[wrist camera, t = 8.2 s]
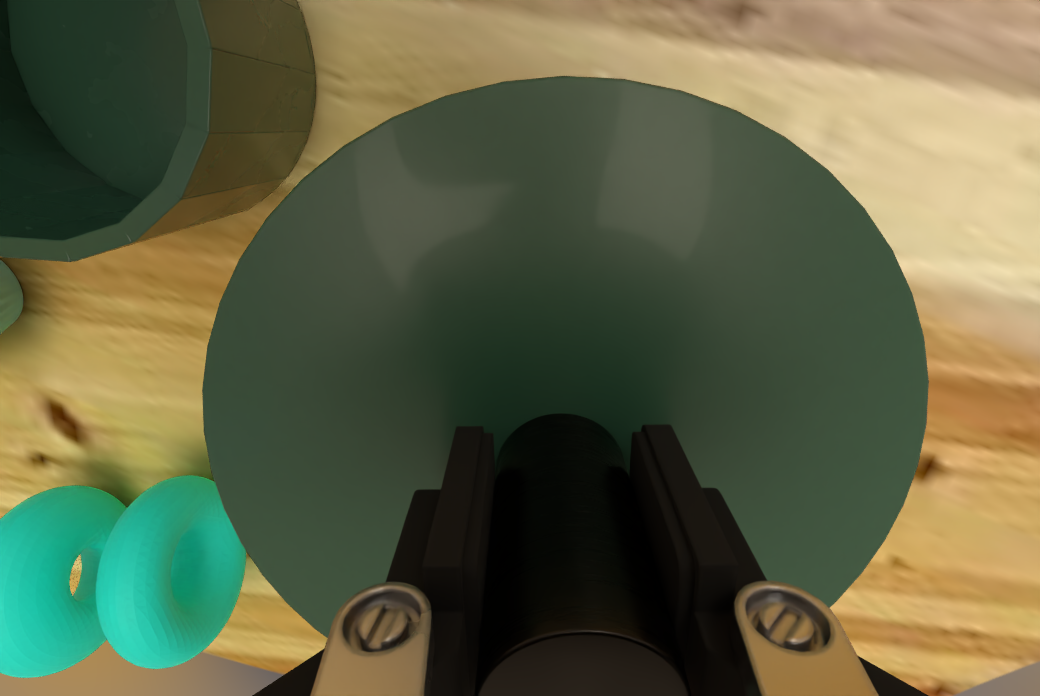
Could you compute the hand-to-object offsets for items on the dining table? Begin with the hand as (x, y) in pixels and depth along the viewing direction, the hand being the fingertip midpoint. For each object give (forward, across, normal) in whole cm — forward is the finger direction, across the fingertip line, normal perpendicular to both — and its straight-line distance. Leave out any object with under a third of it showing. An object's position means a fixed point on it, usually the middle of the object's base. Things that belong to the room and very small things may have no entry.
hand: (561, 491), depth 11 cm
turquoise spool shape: (+20, +24, +16) cm, 35 cm away
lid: (+1, 0, 0) cm, 1 cm away
